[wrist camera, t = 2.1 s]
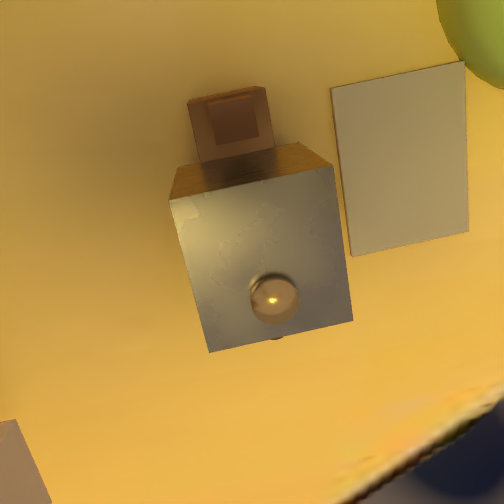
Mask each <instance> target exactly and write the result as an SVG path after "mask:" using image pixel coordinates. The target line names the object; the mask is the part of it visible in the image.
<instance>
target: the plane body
mask: <svg viewBox="0 0 504 504" xmlns="http://www.w3.org/2000/svg"><path fill="white" fill-rule="evenodd" d="M187 106H188V110H189V115H190V119H191V123H192V127H193V132H194V136H195V140H196V145H197V149H198V153H199V157H200V162H201V163H202V162H207V161H212V160H217V159H221V158H226V157H231V156H235V155H240V154H245V153H249V152H254V151H259V150H264V149H268V148H273V147H275V143H274V137H273V131H272V125H271V120H270V114H269V108H268V102H267V96H266V91H265V88H264V87H257V86H254V87H249V88H244V89H239V90H235V91H230V92H225V93H220V94H216V95H211V96H206V97H201V98H196V99H192V100H189V101H188V103H187ZM283 337H284V336H283ZM280 338H282V337H278V338H274V339H270V340H277V339H280Z"/></svg>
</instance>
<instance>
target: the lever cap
mask: <svg viewBox="0 0 504 504" xmlns="http://www.w3.org/2000/svg"><path fill="white" fill-rule="evenodd" d="M169 204H170V208H171V211H172V215H173V219H174V223H175V226H176V230H177V234H178V238H179V241H180V245H181V249H182V253H183V256H184V260H185V264H186V268H187V271H188V275H189V279H190V283H191V287H192V290H193V294H194V298H195V302H196V305H197V309H198V313H199V317H200V320H201V324H202V328H203V332H204V335H205V339H206V343H207V347H208V350H209V353H211V352H216V351H220V350H225V349H229V348H233V347H238V346H242V345H247V344H251V343H256V342H260V341H265V340H269V339H274V338H278V337H283V336H287V335H292V334H296V333H301V332H305V331H310V330H314V329H319V328H323V327H328V326H332V325H336V324H341V323H345V322H350V321H353V314H352V306H351V299H350V291H349V283H348V276H347V268H346V260H345V253H344V245H343V237H342V230H341V222H340V214H339V206H338V199H337V191H336V183H335V176H334V168H333V165H332V164H330V163H329V162H327V161H326V160H324V159H323V158H321V157H320V156H318V155H317V154H315V153H314V152H312V151H311V150H309V149H308V148H306V147H305V146H303V145H302V144H300V143H299V142H297V143H292V144H287V145H282V146H278V147H273V148H268V149H264V150H259V151H254V152H249V153H245V154H240V155H235V156H231V157H226V158H221V159H217V160H212V161H207V162H202V163H198V164H193V165H188V166H184V167H179V168H177V171H176V175H175V178H174V182H173V186H172V190H171V194H170V197H169Z"/></svg>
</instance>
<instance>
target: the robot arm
mask: <svg viewBox="0 0 504 504" xmlns="http://www.w3.org/2000/svg"><path fill="white" fill-rule="evenodd" d="M51 503H52V501H51V498H50V496H49V494H48V492H47V489H46V487H45V485H44V482H43V480H42V478H41V476H40V473H39V471H38V469H37V466H36V464H35V462H34V460H33V457H32V455H31V453H30V451H29V448H28V446H27V444H26V441H25V439H24V437H23V435H22V432H21V430H20V428H19V425H18V423H17V421H16V419H14V420H9V421H4V422H0V504H51Z"/></svg>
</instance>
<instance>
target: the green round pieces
mask: <svg viewBox="0 0 504 504" xmlns="http://www.w3.org/2000/svg"><path fill="white" fill-rule="evenodd" d="M436 3H437V9H438V14H439V19H440V22H441V25H442V27H443V30H444V32H445V35H446V37H447V40H448V42H449V44H450V45H451V47H452V48H453V50H454V51H455V53H456V54H457V56H458V58H459V59H460V61H465V66H466V67H467V68H468V69H470V70H471V71H472V72H473V73H474V74H475V75H476V76H477V77H479V78H480V79H482V80H484V81H486V82H487V83H489V84H491V85H493V86H494V87H497V88H501V89H504V0H436Z"/></svg>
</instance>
